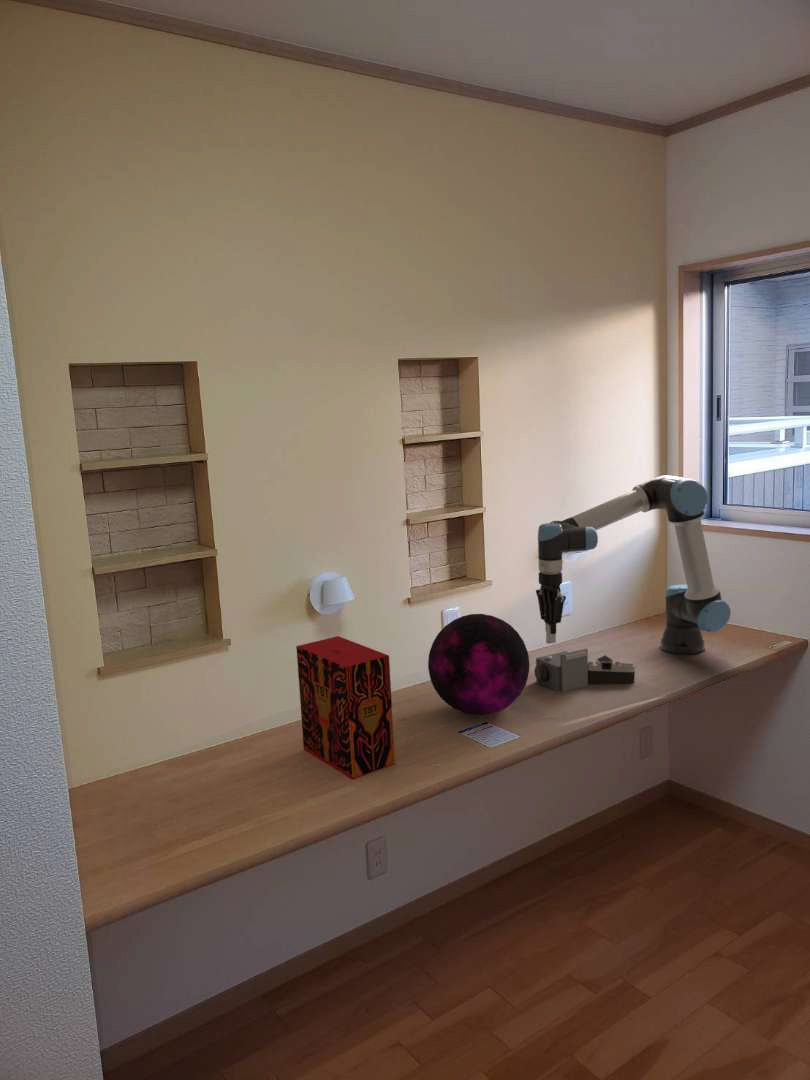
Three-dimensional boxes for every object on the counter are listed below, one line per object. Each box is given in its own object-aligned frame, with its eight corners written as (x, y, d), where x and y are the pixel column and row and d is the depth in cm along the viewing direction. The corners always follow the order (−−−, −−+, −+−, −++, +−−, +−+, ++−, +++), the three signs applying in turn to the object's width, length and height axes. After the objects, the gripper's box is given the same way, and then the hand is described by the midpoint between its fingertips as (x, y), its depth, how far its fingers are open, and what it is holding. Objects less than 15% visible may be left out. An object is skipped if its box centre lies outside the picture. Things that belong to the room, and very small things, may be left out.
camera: (632, 682, 289) (633, 653, 288) (636, 690, 280) (637, 659, 279) (582, 680, 291) (583, 651, 290) (585, 688, 282) (586, 657, 281)
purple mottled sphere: (409, 716, 266) (405, 619, 261) (472, 687, 287) (469, 598, 282) (489, 740, 246) (486, 636, 240) (550, 707, 267) (548, 611, 262)
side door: (585, 686, 283) (585, 648, 280) (589, 687, 281) (588, 649, 279) (560, 692, 278) (560, 654, 276) (564, 694, 277) (563, 655, 274)
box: (303, 750, 245) (296, 646, 240) (344, 736, 253) (337, 635, 247) (352, 779, 225) (345, 667, 220) (394, 764, 233) (389, 655, 228)
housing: (565, 677, 293) (565, 648, 291) (587, 686, 283) (587, 657, 282) (532, 685, 287) (531, 656, 285) (553, 695, 277) (553, 665, 276)
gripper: (528, 569, 287) (529, 639, 291) (553, 576, 276) (554, 649, 280) (547, 566, 291) (548, 635, 295) (572, 573, 279) (572, 645, 284)
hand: (551, 642), depth 287 cm, fingers closed
